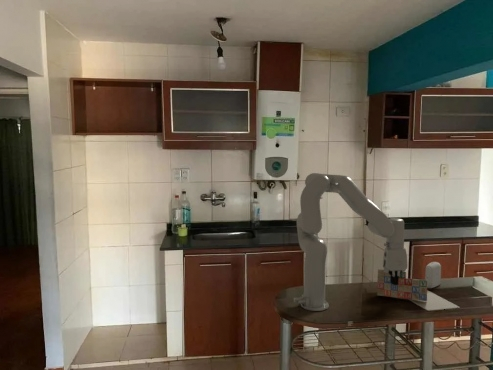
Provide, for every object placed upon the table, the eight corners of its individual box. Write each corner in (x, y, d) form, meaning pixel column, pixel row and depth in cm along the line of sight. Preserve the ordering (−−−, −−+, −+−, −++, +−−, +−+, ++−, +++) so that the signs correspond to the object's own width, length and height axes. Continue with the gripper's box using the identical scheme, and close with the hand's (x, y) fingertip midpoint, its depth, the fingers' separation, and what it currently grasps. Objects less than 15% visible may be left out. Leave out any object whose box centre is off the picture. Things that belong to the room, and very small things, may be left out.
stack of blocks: (427, 301, 173) (427, 273, 176) (426, 301, 168) (427, 273, 170) (378, 294, 183) (379, 269, 186) (376, 295, 178) (377, 268, 180)
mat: (427, 311, 163) (427, 310, 163) (393, 290, 189) (393, 289, 189) (459, 308, 167) (459, 307, 167) (421, 288, 192) (421, 287, 192)
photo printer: (432, 289, 191) (432, 265, 190) (423, 286, 194) (424, 263, 193) (441, 284, 197) (442, 261, 196) (433, 282, 200) (434, 259, 199)
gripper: (384, 248, 168) (384, 288, 169) (414, 246, 170) (413, 285, 172) (375, 244, 175) (375, 282, 176) (404, 242, 178) (403, 280, 179)
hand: (394, 284), depth 174 cm, fingers closed
